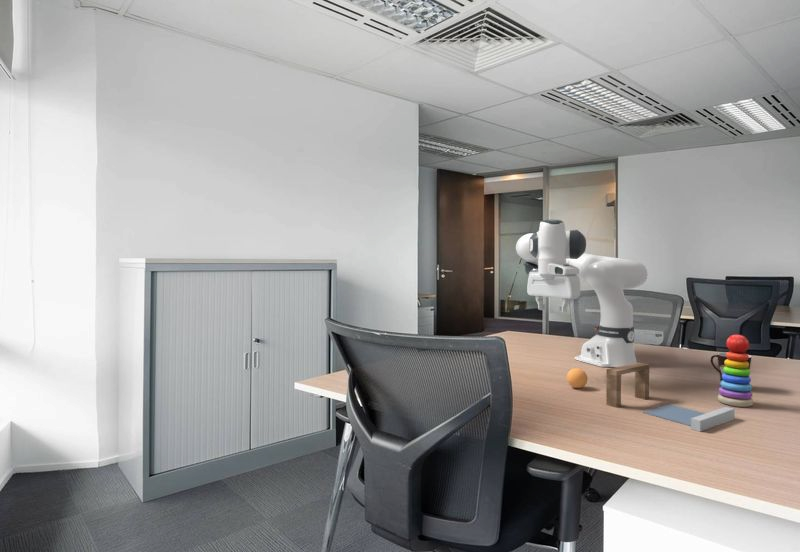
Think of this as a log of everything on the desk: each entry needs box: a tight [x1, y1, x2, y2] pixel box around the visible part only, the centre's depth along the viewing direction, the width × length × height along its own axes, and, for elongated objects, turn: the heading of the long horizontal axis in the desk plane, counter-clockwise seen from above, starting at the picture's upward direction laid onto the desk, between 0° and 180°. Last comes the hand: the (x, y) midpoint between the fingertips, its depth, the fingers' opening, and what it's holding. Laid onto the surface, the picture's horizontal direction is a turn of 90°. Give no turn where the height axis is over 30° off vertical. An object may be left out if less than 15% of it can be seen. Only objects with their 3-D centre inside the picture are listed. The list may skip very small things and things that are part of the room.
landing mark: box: [642, 403, 706, 427], centre depth 122 cm, size 12×12×1 cm
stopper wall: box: [690, 406, 736, 432], centre depth 115 cm, size 2×16×2 cm, turn 121°
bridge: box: [605, 362, 650, 408], centre depth 134 cm, size 3×15×10 cm, turn 122°
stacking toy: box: [717, 334, 754, 408], centre depth 131 cm, size 8×8×19 cm
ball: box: [566, 367, 589, 389], centre depth 148 cm, size 6×6×6 cm
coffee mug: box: [710, 351, 752, 382], centre depth 148 cm, size 12×9×10 cm
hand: (552, 310), depth 159 cm, fingers open, 8 cm apart
